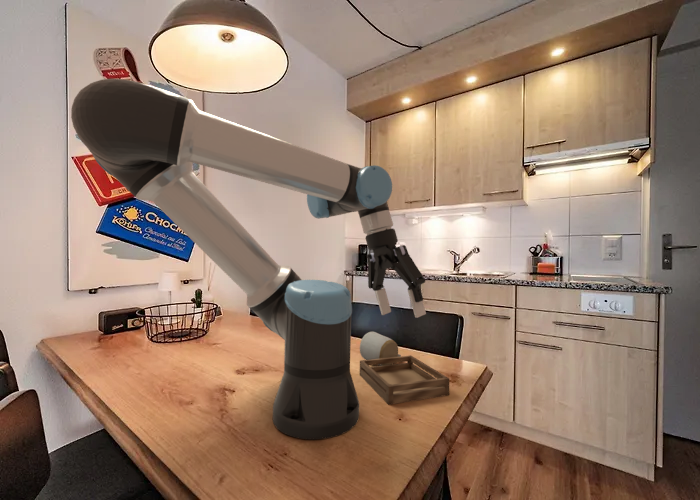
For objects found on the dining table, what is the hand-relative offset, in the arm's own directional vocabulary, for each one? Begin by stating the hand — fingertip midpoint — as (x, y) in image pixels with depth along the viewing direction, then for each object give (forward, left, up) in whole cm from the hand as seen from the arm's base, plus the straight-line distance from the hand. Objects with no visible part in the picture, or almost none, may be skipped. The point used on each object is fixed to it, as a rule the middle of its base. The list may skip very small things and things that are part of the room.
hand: (402, 314), depth 77 cm
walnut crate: (-3, -6, -14) cm, 16 cm away
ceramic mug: (-1, +8, -14) cm, 17 cm away
